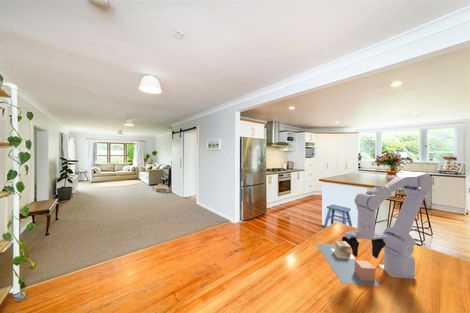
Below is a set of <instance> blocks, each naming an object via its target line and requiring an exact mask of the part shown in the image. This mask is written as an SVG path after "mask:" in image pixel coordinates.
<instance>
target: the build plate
mask: <svg viewBox="0 0 470 313" xmlns="http://www.w3.org/2000/svg"><path fill="white" fill-rule="evenodd" d="M341 241H346V242H347V243H348V244H349V245H350V243H349V241H348V239H347V237H346V236H345V235H344V236H342V238H341ZM350 246H351V245H350Z"/></svg>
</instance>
